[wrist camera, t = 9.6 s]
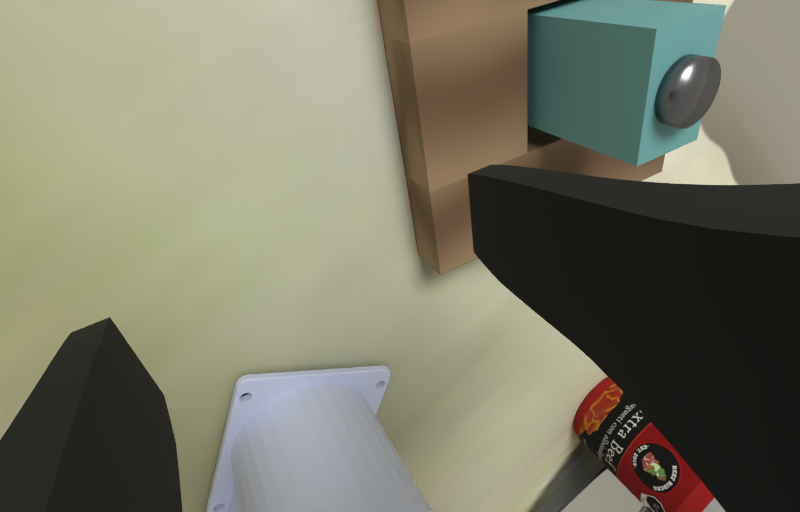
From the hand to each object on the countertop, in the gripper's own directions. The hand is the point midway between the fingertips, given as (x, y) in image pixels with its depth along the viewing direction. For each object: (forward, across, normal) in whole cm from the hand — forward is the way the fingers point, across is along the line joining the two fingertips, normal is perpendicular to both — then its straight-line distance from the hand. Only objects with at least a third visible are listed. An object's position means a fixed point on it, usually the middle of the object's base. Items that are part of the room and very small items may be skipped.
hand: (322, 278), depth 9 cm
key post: (+9, -13, 0) cm, 16 cm away
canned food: (+10, -21, +31) cm, 39 cm away
